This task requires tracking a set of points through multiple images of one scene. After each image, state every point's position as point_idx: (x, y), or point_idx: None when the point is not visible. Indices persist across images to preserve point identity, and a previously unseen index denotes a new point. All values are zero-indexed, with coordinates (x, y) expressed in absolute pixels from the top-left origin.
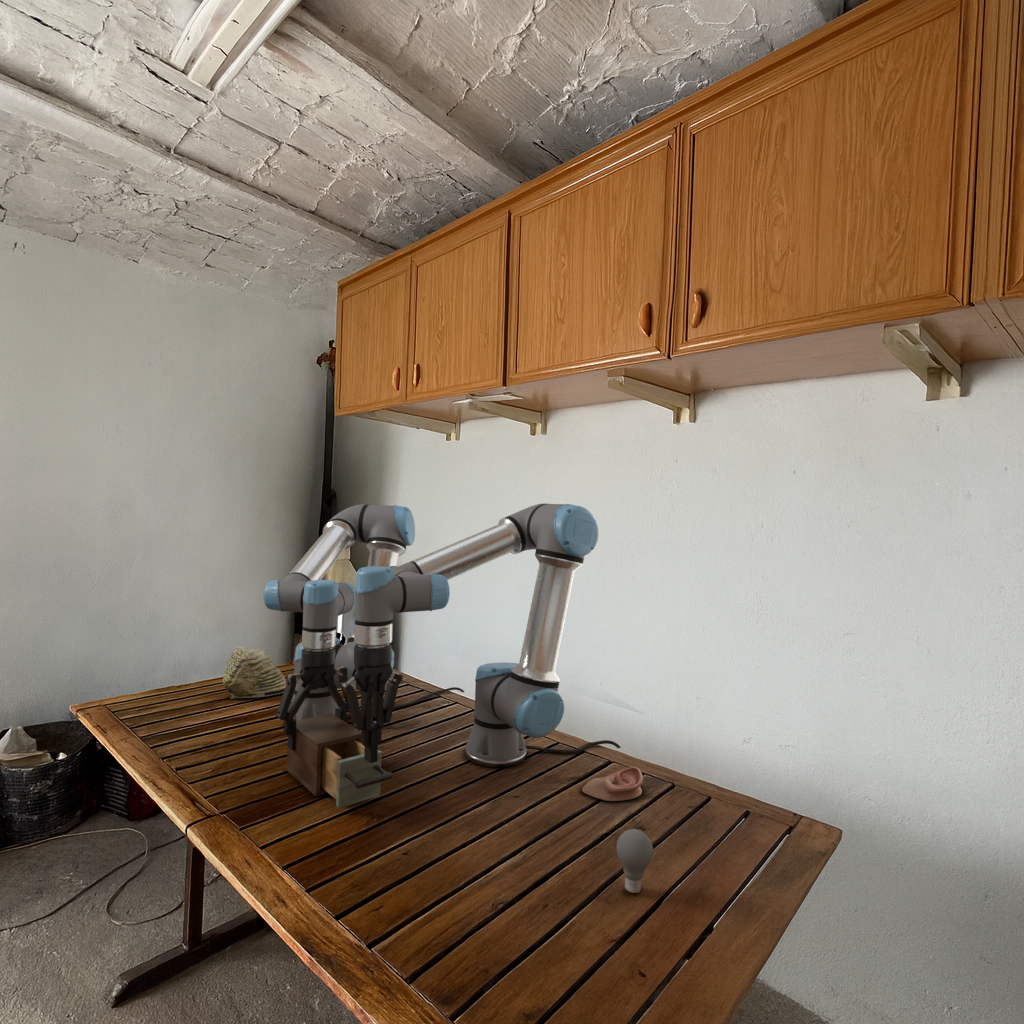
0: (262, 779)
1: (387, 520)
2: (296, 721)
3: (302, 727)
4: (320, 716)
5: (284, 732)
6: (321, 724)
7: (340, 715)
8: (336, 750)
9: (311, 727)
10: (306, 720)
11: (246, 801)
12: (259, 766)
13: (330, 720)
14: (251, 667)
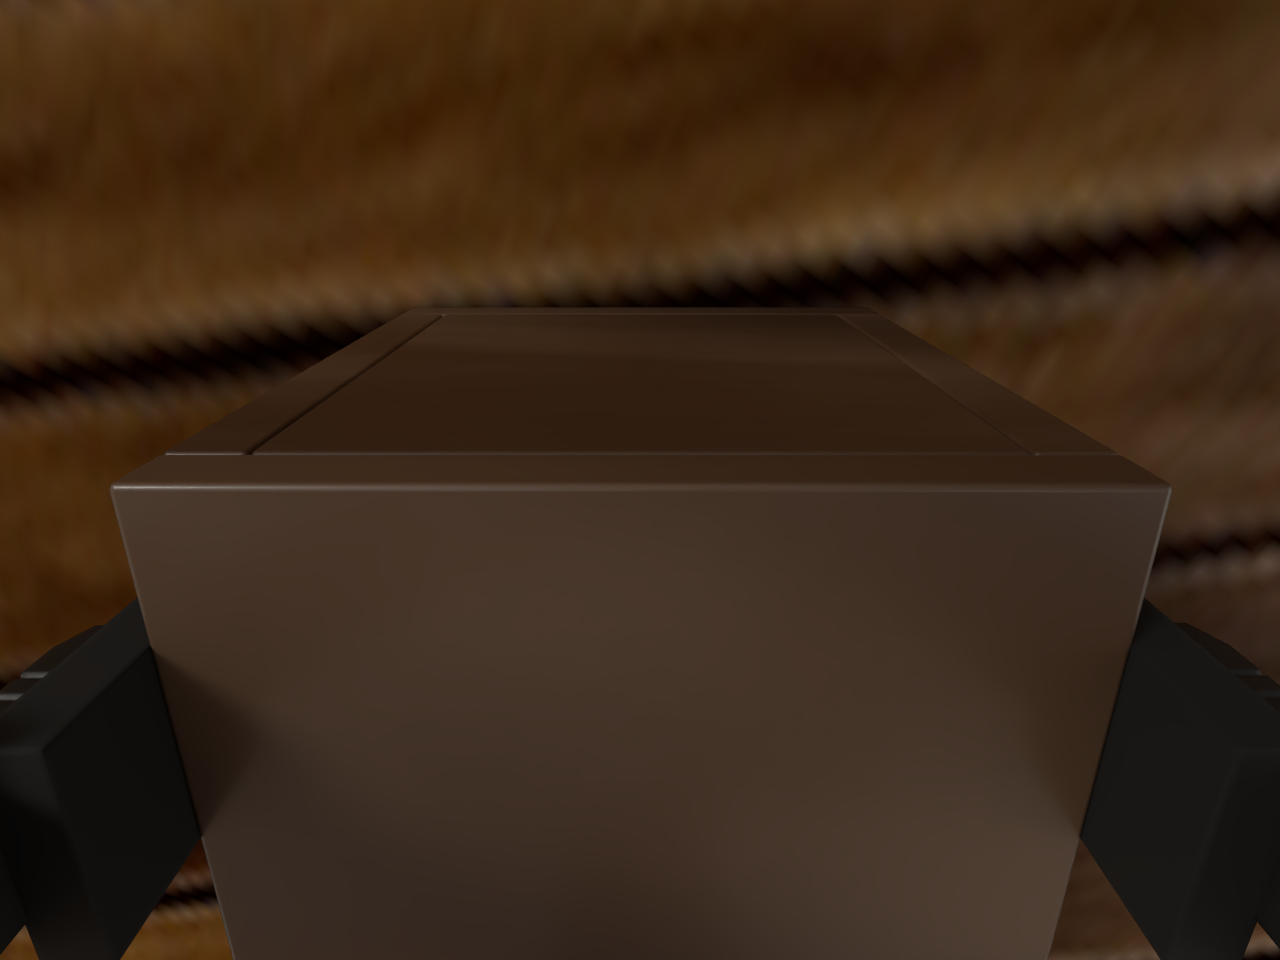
0: (170, 363)
1: None
2: (284, 549)
3: (309, 873)
4: (859, 543)
5: (73, 640)
6: (653, 911)
7: (1124, 891)
8: None
9: (449, 940)
10: (496, 604)
11: (13, 653)
12: (183, 24)
13: (887, 832)
14: None
